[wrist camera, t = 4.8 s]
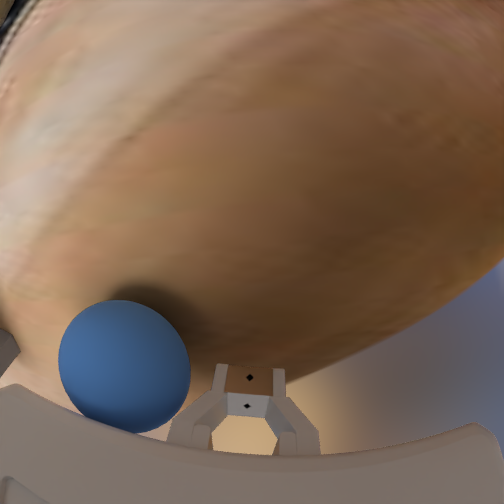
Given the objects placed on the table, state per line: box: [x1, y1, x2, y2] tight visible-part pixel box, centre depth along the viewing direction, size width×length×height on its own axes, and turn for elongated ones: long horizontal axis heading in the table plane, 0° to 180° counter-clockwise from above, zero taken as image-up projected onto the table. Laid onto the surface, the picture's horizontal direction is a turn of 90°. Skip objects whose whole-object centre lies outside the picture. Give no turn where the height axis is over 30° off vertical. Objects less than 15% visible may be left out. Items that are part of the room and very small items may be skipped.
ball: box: [58, 300, 191, 433], centre depth 10 cm, size 6×6×6 cm
